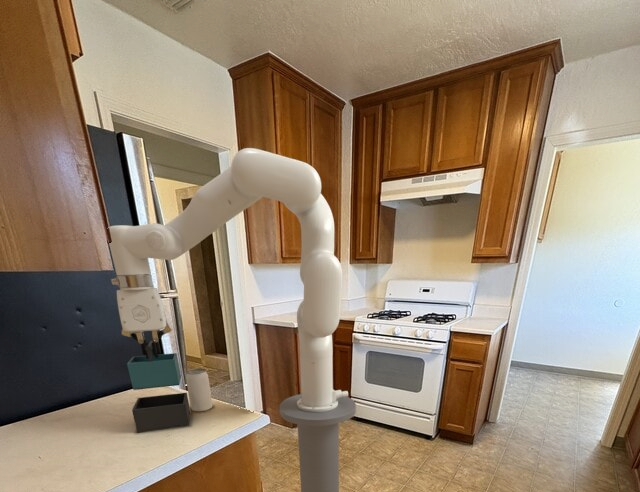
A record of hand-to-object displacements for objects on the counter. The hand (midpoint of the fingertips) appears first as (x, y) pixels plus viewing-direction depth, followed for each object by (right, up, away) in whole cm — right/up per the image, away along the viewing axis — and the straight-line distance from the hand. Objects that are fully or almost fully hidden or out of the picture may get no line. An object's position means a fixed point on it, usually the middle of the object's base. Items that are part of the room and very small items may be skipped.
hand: (152, 356), depth 93 cm
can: (+7, -13, +17) cm, 23 cm away
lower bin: (0, -18, +7) cm, 19 cm away
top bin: (0, -7, +3) cm, 7 cm away
